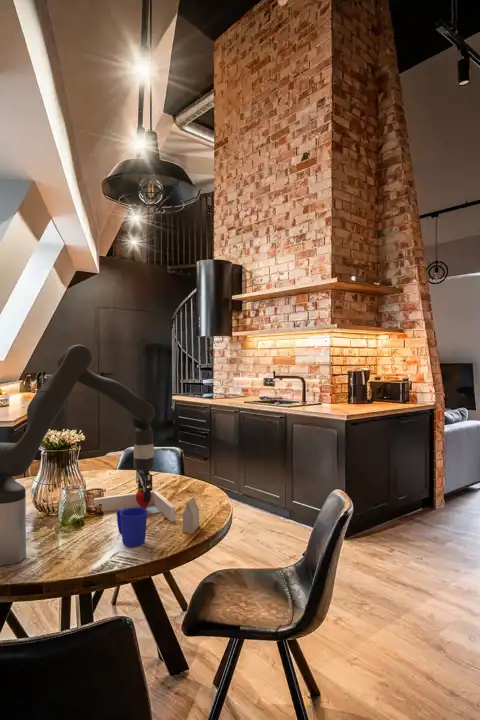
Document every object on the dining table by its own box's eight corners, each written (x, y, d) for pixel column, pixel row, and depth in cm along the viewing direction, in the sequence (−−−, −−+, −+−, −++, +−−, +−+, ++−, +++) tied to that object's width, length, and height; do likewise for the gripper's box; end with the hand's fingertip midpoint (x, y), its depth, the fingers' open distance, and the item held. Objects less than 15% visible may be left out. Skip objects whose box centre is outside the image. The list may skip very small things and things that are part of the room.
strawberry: (133, 513, 172) (133, 486, 172) (138, 507, 180) (137, 481, 180) (149, 513, 173) (149, 486, 172) (153, 506, 180) (153, 480, 180)
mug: (128, 534, 153) (128, 503, 153) (152, 543, 145) (152, 510, 145) (107, 541, 147) (107, 509, 147) (131, 551, 139) (131, 518, 139)
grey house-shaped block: (199, 526, 160) (198, 496, 160) (193, 533, 154) (193, 502, 154) (188, 525, 161) (188, 496, 161) (182, 532, 154) (182, 502, 154)
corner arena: (175, 520, 165) (175, 506, 165) (106, 532, 155) (106, 517, 155) (156, 502, 187) (156, 489, 187) (94, 511, 176) (93, 498, 176)
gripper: (129, 453, 181) (129, 495, 181) (138, 460, 168) (139, 505, 168) (148, 451, 185) (148, 492, 185) (159, 458, 172) (159, 502, 172)
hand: (144, 498), depth 176 cm, fingers open, 8 cm apart
